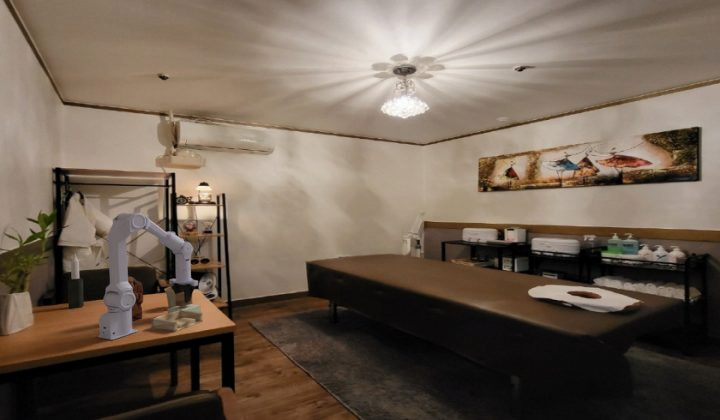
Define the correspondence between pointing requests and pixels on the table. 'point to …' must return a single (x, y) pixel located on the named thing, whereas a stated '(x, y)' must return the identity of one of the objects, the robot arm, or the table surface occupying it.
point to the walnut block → (181, 300)
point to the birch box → (176, 320)
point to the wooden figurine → (139, 298)
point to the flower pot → (171, 297)
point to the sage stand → (185, 308)
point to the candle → (75, 286)
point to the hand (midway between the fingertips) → (184, 301)
